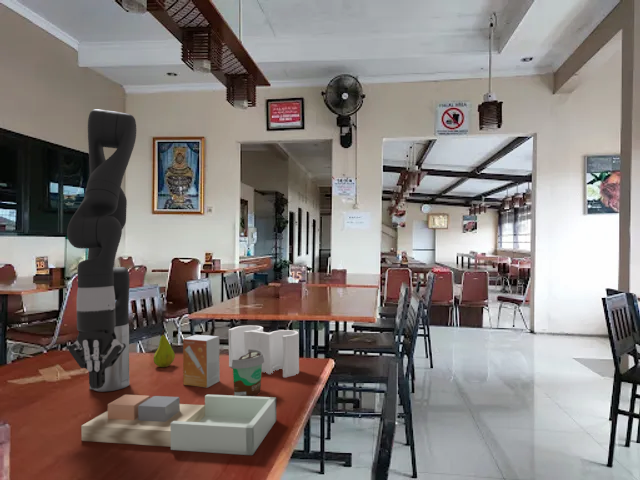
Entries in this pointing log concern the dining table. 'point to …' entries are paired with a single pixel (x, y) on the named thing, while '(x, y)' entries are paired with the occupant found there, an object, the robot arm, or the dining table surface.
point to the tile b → (158, 408)
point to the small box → (201, 360)
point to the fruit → (164, 353)
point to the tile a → (126, 407)
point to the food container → (248, 373)
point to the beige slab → (138, 428)
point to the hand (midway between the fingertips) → (97, 387)
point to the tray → (227, 425)
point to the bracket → (266, 348)
